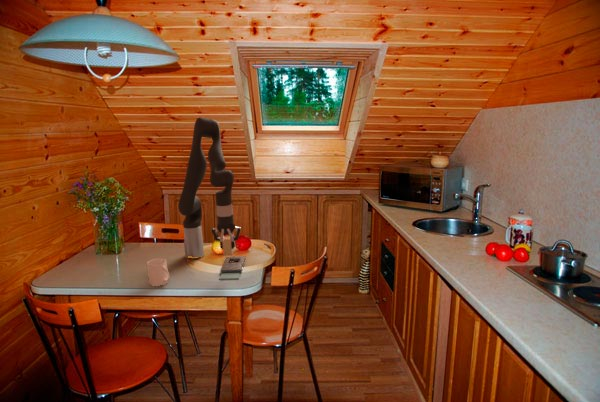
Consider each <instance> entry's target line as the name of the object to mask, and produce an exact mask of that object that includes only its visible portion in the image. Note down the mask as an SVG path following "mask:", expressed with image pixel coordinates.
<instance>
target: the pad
mask: <svg viewBox="0 0 600 402" xmlns="http://www.w3.org/2000/svg"><path fill="white" fill-rule="evenodd" d="M240 275H241V273H222V274H221V273H220V276H219V280H220V281H221V280H239V279H240V277H241V276H240Z"/></svg>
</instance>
